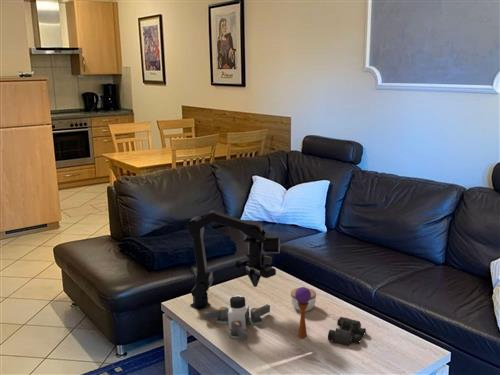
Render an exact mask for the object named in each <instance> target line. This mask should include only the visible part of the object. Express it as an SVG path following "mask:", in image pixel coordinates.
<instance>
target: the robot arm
mask: <svg viewBox="0 0 500 375" xmlns="http://www.w3.org/2000/svg"><path fill="white" fill-rule="evenodd" d="M212 222H214V223H216V224H219V225H222V226H224V227H225V226H226V227H228V228H231V229H235V230H238V231H240V232H241V233H243V234H244V235H245V237H244V239H243V242H244V243H248V244H247V245H248V246H247V247H248V253H247V254H246V255H245V256H246V257H243V258H240V259H238V260H236V261H235V268H237V269H242V268H243V266H244V267H245V270H244V272H245V274H246V275H247V276H248V279H249V280H250V282H251V284H252V286H253V287H254V288H257V287H258V285H259V282H260V280H261V277H262V278H265V279H269V278H271V277H274V276H276V274H277V270H276V268H275V267H272V266H271V264H272V261H273V257H272V256H268V255H265V253H267V254H280V251H281V242H280V241H281V240H280V236H268V233H267V232H266V231H265V229H264V228H263V224H262V223H261V222H260V221H259V220H252V219H240V218H238V217H234V216H231V215H228V214H227V213H226V214H225V213H222V212H220V211H217V210H215V209H214V210H213V209H212V210H210V211H209V212H207V213H204V214H202V215H201V216H194V217H192V218H191V219H190V220H189V222H188V223H187V226H186V227H187V232H188V234H189V236H190V238H191V239H192V243H193V250H194V258H195V265H196V266H195V267H196V278H195V285H194V287H193V288H192V289H191V291H190V294H191V296H192V303H191V304H190V306H191V307H192V308H194V309H197V310H199V311H201V310H202V309H205V308H208V307H210V306H211V303H210V302H209V297H208V293H207V292H208V290H209V289H210V287H211V286H212V284H213V281H214V280H215V279H214V276H213V273H214V272H213V271H210V270H209V269H208V264H207V256H206V249H205V241H204V233H205V227H206V226H208V225H209V224H211V223H212ZM263 251H264V252H265V253H264V252H263ZM266 265H267V266H266ZM264 266H266V267H264Z"/></svg>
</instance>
